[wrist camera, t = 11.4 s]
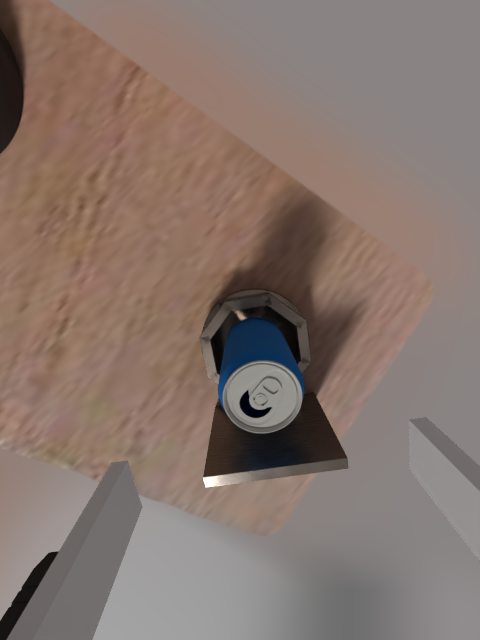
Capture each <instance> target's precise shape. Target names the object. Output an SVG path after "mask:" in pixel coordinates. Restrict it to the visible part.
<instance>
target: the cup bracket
mask: <svg viewBox="0 0 480 640" xmlns="http://www.w3.org/2000/svg"><path fill="white" fill-rule="evenodd" d="M251 317H260V318H264V319H267V320H269V321H271V322H273V323H274V324H275V325H276V326H277V327H278V328H279V329H280V330H281V332H282V334H283V336H284V338H285V340H286V342H287V344H288V346H289V348H290V350H291V352H292V354H293V357H294V359H295V361H296V363H297V365H298V367H299V369H300V371H301V373H303V372H304V370H305V369H306V368H307V367H308V366H309V364H310V363H311V357H310V349H309V334H308V329H307V323H306V320H305V319H304V318H303V316H302V315H301V313H300V312H299V310H298V309H297V308H296V307H295V306H294V305H293V304H292V303H291V302H290V301H289V300H287V299H286V298H284V297H283V296H281V295H279V294H277V293H275V292H272V291H268V290H263V289H247V290H242V291H239V292H236V293H233V294H231V295H229V296H227V297H226V298H224V299H223V300H222V301H220V302H219V303H218V304H217V305H216V306H215V307H214V309H213V310H212V311H211V313H210V314H209V316H208V318H207V320H206V322H205V324H204V327H203V331H202V334H201V336H200V341H201V346H202V353H203V356H204V360H205V365H206V370H207V375H208V378H209V379H210V380H212V381H213V382H215V383H216V384H218V383H219V377H220V371H221V366H222V360H223V354H224V348H225V343H226V338H227V335H228V333H229V331H230V330H231V328H232V327H233V326H234V325H235V324H237V323H238V322H240V321H242V320H244V319H247V318H251ZM347 468H348V460H347V456H346V454H345V452H344V450H343V448H342V447H341V445H340V442H339V441H338V439H337V437H336V435H335V433H334V431H333V429H332V427H331V425H330V423H329V421H328V419H327V417H326V415H325V413H324V411H323V409H322V407H321V405H320V403H319V401H318V399H317V398H316V396H315V394H314V393H308V394H304V397H303V400H302V404H301V408H300V410H299V412H298V414H297V415H296V417H295V418H294V419H293V420H292V421H291V422H290V423H289V424H288V425H287V426H285V427H283V428H282V429H280V430H277V431H274V432H270V433H253V432H249V431H246V430H244V429H242V428H240V427H238V426H237V425H236V424H235V423H234V422H233V421H232V420H231V419H230V418H229V417H228V415H227V413H226V411H225V410H224V408H223V406H220V407H215V412H214V417H213V423H212V429H211V435H210V441H209V446H208V452H207V458H206V464H205V470H204V475H203V479H204V484H205V488H206V487H213V486H221V485H228V484H236V483H243V482H250V481H258V480H265V479H273V478H280V477H288V476H295V475H302V474H310V473H317V472H325V471H332V470H340V469H347Z"/></svg>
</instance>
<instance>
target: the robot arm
mask: <svg viewBox="0 0 480 640" xmlns="http://www.w3.org/2000/svg"><path fill="white" fill-rule="evenodd" d="M21 107H22V88H21V79H20V74H19V70H18V66H17V63H16V60H15V57H14V54H13V52H12V49H11V47H10V45H9V43H8V41H7V39H6V37H5V36H4V34H3V32H2V31H1V29H0V153H1V152H2V151H3V150H4V149H5V148H6V147H7V145H8V144H9V142H10V141H11V139H12V137H13V135H14V133H15V131H16V128H17V126H18V122H19V119H20V114H21ZM409 445H410V446H409V447H410V471H411V472H412V473H413V475H414V476H415V477H416V478H417V480H418V481H419V482H420V484H421V485H422V486H423V488H424V489H425V490H426V492H427V493H428V494H429V495H430V497H431V498H432V499H433V501H434V502H435V503H436V505H437V506H438V507H439V509H440V510H441V511H442V512H443V514H444V515H445V516H446V518H447V519H448V520H449V522H450V523H451V524H452V525H453V527H454V528H455V529H456V531H457V532H458V533H459V535H460V536H461V537H462V538H463V540H464V541H465V542H466V544H467V545H468V546H469V548H470V549H471V550H472V552H473V553H474V554H475V555H476V557H477V558H478V559H479V561H480V466H479V465H478V464H477V463H476V462H475V461H474V460H472V459H471V458H470V457H469V456H468V455H467V454H466V453H464V451H463V450H461V449H460V448H459V447H458V446H457V445H456V444H455V443H454V442H453V441H451V439H449V438H448V437H447V436H446V435H445V434H444V433H443V432H442V431H441V430H440V429H438V428H437V427H436V426H435V425H434V424H433V423H432V422H431V421H429V419H427V418H426V417H425V418H418V419H411V420H409ZM141 509H142V505H141V501H140V498H139V495H138V492H137V489H136V486H135V482H134V479H133V476H132V473H131V470H130V467H129V463H128V461H121V462H114V463H111V465H110V467H109V468H108V470H107V472H106V473H105V475H104V477H103V478H102V480H101V482H100V483H99V485H98V487H97V489H96V490H95V492H94V494H93V496H92V497H91V499H90V500H89V502H88V504H87V505H86V507H85V509H84V510H83V512H82V514H81V515H80V517H79V519H78V521H77V522H76V524H75V525H74V527H73V529H72V531H71V533H70V534H69V536H68V537H67V539H66V541H65V542H64V544H63V546H62V547H61V549H60V551H59V552H51V553H48V554H47V555H46V556H45V558H44V559H43V560H42V561H41V562H40V563H39V564H38V565H37V566H36V567H35V568H34V569H33V571H32V572H31V574H30V576H29V577H28V579H27V580H26V582H25V583H24V585H23V586H22V590H21V591H19V593H18V594H17V596H16V597H15V599H14V600H13V602H12V605H11V607H9V608H8V610H7V611H6V613H5V614H4V616H3V617H2V619H1V621H0V640H92V639H93V636H94V634H95V631H96V628H97V626H98V623H99V620H100V618H101V615H102V612H103V610H104V607H105V604H106V602H107V599H108V596H109V594H110V591H111V588H112V586H113V583H114V580H115V578H116V575H117V572H118V570H119V567H120V565H121V562H122V559H123V557H124V554H125V551H126V549H127V546H128V543H129V541H130V538H131V535H132V532H133V530H134V527H135V525H136V522H137V519H138V517H139V514H140V511H141Z"/></svg>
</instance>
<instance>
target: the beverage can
mask: <svg viewBox="0 0 480 640" xmlns="http://www.w3.org/2000/svg"><path fill="white" fill-rule="evenodd" d="M304 390H305V385H304V379H303V375H302V373H301V371H300V369H299V367H298V365H297V363H296V361H295V359H294V357H293V354H292V352H291V350H290V348H289V346H288V344H287V342H286V340H285V338H284V336H283V334H282V332H281V330H280V329H279V328H278V327H277V326H276V325H275V324H274V323H273V322H271V321H269V320H267V319H264V318H260V317H251V318H247V319H244V320H242V321H240V322H238V323H237V324H235V325H234V326H233V327H232V328H231V330H230V331H229V333H228V335H227V338H226V343H225V348H224V354H223V360H222V366H221V371H220V377H219V383H218V395H219V399H220V402H221V404H222V406H223V408H224V410H225V411H226V413H227V415H228V417H229V418H230V419H231V420H232V421H233V422H234V423H235V424H236V425H237V426H238V427H240V428H242V429H244V430H246V431H249V432H253V433H270V432H274V431H277V430H280V429H282V428H283V427H285V426H287V425H288V424H289V423H290V422H291V421H292V420H293V419H294V418H295V417H296V415H297V414H298V412H299V410H300V408H301V404H302V400H303V397H304Z"/></svg>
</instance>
